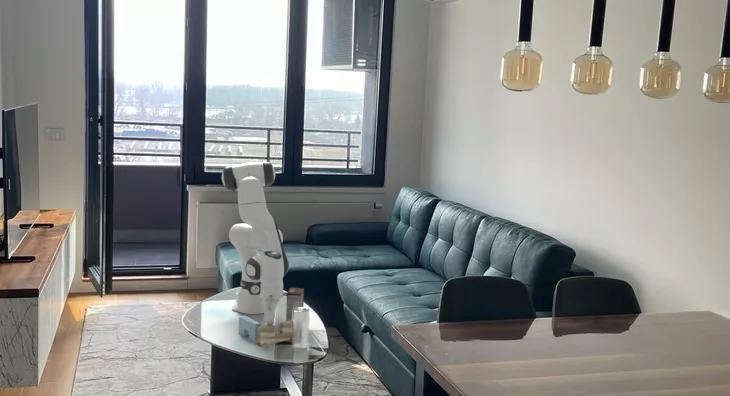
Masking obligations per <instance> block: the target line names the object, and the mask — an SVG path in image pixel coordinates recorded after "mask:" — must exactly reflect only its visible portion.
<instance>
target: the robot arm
mask: <svg viewBox="0 0 730 396" xmlns="http://www.w3.org/2000/svg"><path fill="white" fill-rule="evenodd" d="M275 178H276V169H275V167H274V166H273V164H272V163H271V162H270V161H253V162H252V161H250V162H249V161H248V162H244V163H240V164H239V163H238V164H235V165H233V164H231V165H227V166H225V167H224V168H223V169H222V173H221V181H222V184H223V185H224V188H225V189H226V190H228V191H231V192H232V193H235V191H237V204H238V212H239V216H240V219H241V221H242V222H243V223H242V222H241V223H235V224H234V225H232V226H231V228H230V230H229V231H228V239H229V242H230V244H232V245H233V246H234V247H235V249H236V250H237V252H238V254H239V256H240V262H241V279H240V289H239V290H238V291H237V292H236V293H235V298H236V300H235V303H234V304H233V306H232V311H235V312H239V313H242V314H247V315H248V314H249V315H260V314H263V315H264V316H263V319H264V320H263V321H264V323H267V324H266V325H270V324H272V325H274V322H275V321H274V320H275V317H276V313H277V309H278V306H279V302H280V299H282V298H283V297H284V282H283V278H284V277H285V276H286V275H287V273H288V272H289V269H290V262H289V259H288V257H287V254H286V252H285V249H284V245H283V241H284V237H283V233H282V231H281V230H280V229H279V226H278V224H277V221H276V218H275V217H274V216H273V215H271V213H270V211H269V210H268V206H267V201H266V195H265V191H264V188H263V187H269V186H271V185H272V184H274V183H275ZM259 251H264V252H263V253H262V254H260V252H259Z"/></svg>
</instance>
